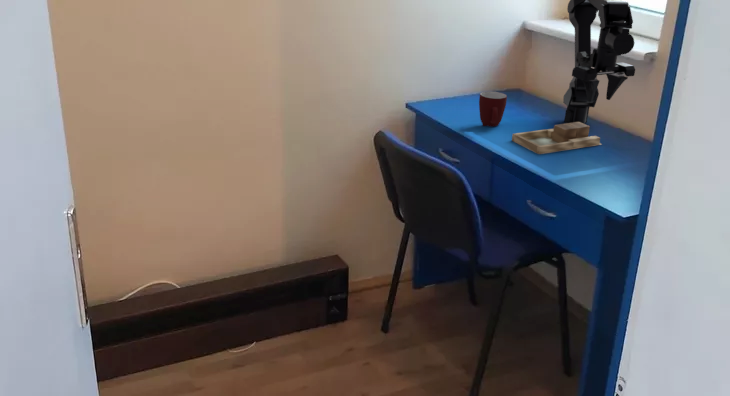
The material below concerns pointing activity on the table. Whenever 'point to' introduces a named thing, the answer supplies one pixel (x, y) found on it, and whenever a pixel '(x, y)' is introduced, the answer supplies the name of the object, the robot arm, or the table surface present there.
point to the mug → (492, 107)
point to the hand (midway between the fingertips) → (598, 100)
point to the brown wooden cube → (564, 133)
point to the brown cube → (580, 129)
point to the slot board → (551, 141)
